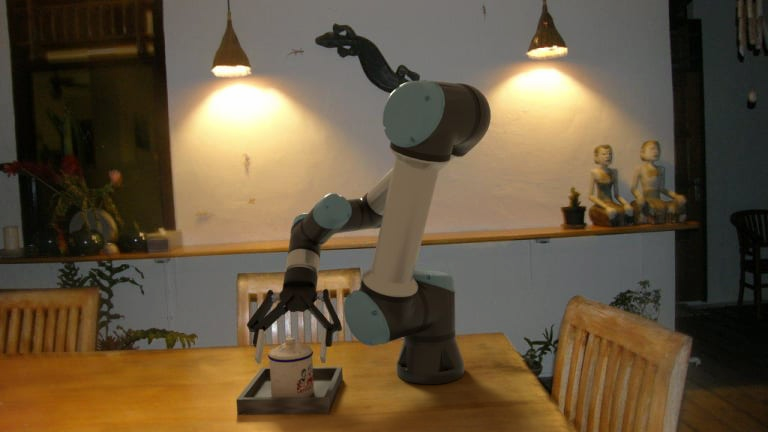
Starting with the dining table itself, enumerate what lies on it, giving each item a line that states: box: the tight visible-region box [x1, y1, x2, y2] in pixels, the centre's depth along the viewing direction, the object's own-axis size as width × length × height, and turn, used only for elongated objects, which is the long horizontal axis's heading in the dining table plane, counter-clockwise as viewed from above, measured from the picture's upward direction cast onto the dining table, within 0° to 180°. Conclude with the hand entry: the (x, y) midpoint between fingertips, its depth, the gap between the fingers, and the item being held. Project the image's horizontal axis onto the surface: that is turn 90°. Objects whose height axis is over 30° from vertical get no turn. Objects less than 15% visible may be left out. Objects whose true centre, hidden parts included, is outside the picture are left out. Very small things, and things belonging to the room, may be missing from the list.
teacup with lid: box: [267, 337, 314, 397], centre depth 126 cm, size 12×9×12 cm
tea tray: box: [236, 366, 344, 415], centre depth 127 cm, size 18×18×3 cm
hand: (290, 360), depth 126 cm, fingers open, 13 cm apart
